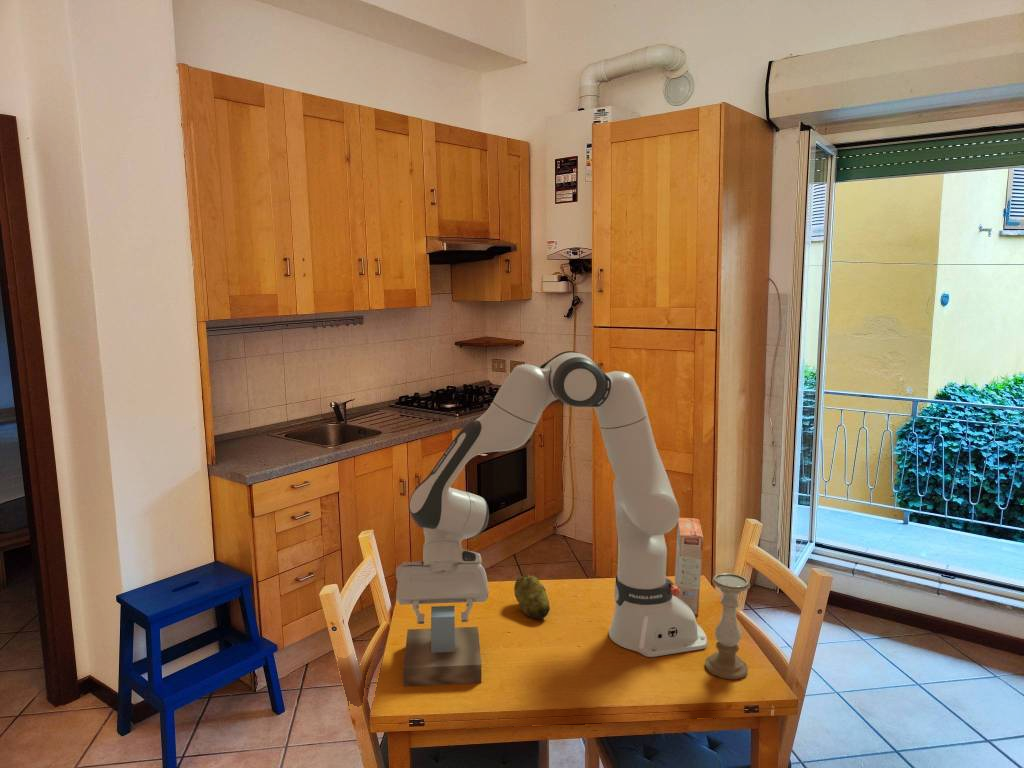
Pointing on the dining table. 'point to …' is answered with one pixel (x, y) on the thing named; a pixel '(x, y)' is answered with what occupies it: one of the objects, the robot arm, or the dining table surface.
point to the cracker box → (689, 561)
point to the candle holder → (728, 629)
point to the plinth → (442, 659)
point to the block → (442, 629)
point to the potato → (531, 596)
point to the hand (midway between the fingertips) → (442, 622)
